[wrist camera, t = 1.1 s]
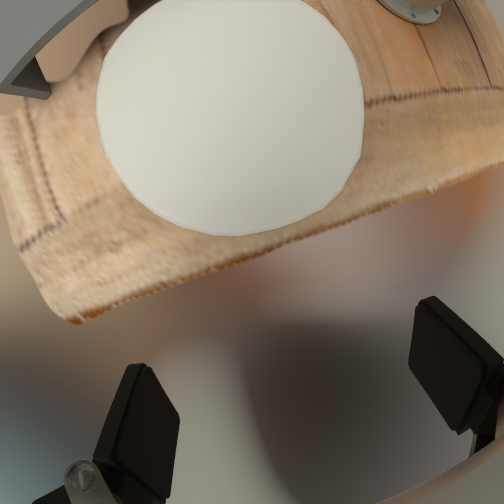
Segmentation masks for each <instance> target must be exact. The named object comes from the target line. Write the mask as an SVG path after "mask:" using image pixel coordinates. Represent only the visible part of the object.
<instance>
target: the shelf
mask: <svg viewBox="0 0 504 504" xmlns="http://www.w3.org/2000/svg"><path fill="white" fill-rule="evenodd" d="M97 1H98V0H0V93H3V94H11V95H18V96H25V97H32V98H38V99H43V100H46V99H47V98H48V97H49V96H50V95H51V94H52V92H51V90H50V88H49V86H48V84H47V82H46V80H45V78H44V75H43V74H42V71H41V69H40V67H39V64H38V62H37V60H36V57H35V55H36V54H37V53H38V52H39V51H40V50H41V49H42V48H43V47H44V46H45V45H46V44H47V43H48V42H49V41H50V40H51V39H52V38H53V37H55V35H57V34H58V33H59V32H60V31H61V30H62V29H63V28H64V27H65V26H67V25H68V24H69V23H70V22H71V21H73V20H74V19H75V18H76V17H77V16H79V15H80V14H81V13H82V12H84V11H85V10H86V9H88V8H89V7H90V6H92V5H93V4H94V3H96V2H97Z"/></svg>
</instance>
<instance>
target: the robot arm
mask: <svg viewBox="0 0 504 504" xmlns="http://www.w3.org/2000/svg"><path fill="white" fill-rule="evenodd" d="M378 1H379V2H380V3H381V4H383V5H384V6H385V7H386V8H387V9H389V10H390V11H391V12H393V13H394V14H396V15H397V16H399V17H401V18H403V19H405V20H407V21H409V22H412V23H415V24H421V25H425V24H430V23H433V22H434V21H436V20H437V19H438V18H439V17H440V14H441V5H443V4H445V3H447V2H449V1H451V0H378ZM503 362H504V358H503V357H501V355H499V354H498V353H497V352H496V351H495V350H494V349H493V348H492V347H491V346H490V345H489V344H488V343H487V342H486V341H485V340H484V339H483V338H482V337H481V336H480V335H479V334H478V333H477V332H475V331H474V330H473V329H472V328H471V327H470V326H469V325H468V324H467V323H466V322H464V321H463V320H462V319H461V318H460V317H459V316H458V315H457V314H455V313H454V312H453V311H452V310H451V309H450V308H448V307H447V306H446V305H445V304H444V303H443V302H442V301H440V300H439V299H438V298H437V297H435V296H431V297H428V298H425V299H423V300H420V301H419V304H418V306H416V308H415V316H414V325H413V333H412V340H411V347H410V353H409V359H408V364H409V368H410V370H411V371H412V373H413V374H414V375H415V377H416V378H417V380H418V381H419V383H420V384H421V386H422V387H423V388H424V390H425V391H426V393H427V394H428V396H429V397H430V398H431V400H432V402H433V403H434V405H435V406H436V408H437V409H438V411H439V412H440V414H441V415H442V417H443V418H444V420H445V421H446V423H447V424H448V426H449V427H450V429H451V430H455V431H456V432H457V434H458V435H460V434H462V433H463V432H465V431H467V430H468V429H470V428H471V430H472V431H473V438H472V443H471V448H470V453H469V457H468V458H467V459H466V460H464V461H462V462H461V463H459V464H458V465H456V466H454V467H453V468H451V469H449V470H447V471H446V472H444V473H442V474H441V475H438V476H436V477H435V478H433V479H431V480H429V481H427V482H425V483H423V484H421V485H419V486H417V487H415V488H413V489H410V490H408V491H406V492H404V493H401V494H399V495H397V496H394V497H392V498H389V499H387V500H384V501H382V502H379V503H376V504H504V363H503ZM179 424H180V418H179V414H178V413H177V411H176V410H175V408H174V406H173V405H172V403H171V401H170V400H169V398H168V396H167V395H166V393H165V391H164V390H163V388H162V386H161V384H160V383H159V381H158V379H157V377H156V376H155V374H154V372H153V370H152V368H150V367H147V366H146V364H144V363H139V364H129V365H128V366H127V368H126V370H125V373H124V375H123V377H122V380H121V382H120V385H119V387H118V390H117V392H116V395H115V397H114V400H113V402H112V405H111V407H110V410H109V413H108V415H107V418H106V421H105V424H104V426H103V429H102V432H101V435H100V437H99V440H98V443H97V446H96V449H95V452H94V454H93V460H92V462H91V461H89V460H78V461H75V462H73V463H72V464H70V465H69V467H68V468H67V469H66V471H65V473H64V478H63V481H64V485H63V486H61V487H59V488H58V489H56V490H54V491H52V492H50V493H48V494H46V495H45V496H43V497H41V498H39V499H37V500H35V501H34V502H33V503H32V504H165V503H166V498H169V497H170V493H171V484H172V477H173V468H174V460H175V453H176V446H177V439H178V431H179Z"/></svg>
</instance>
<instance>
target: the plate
mask: <svg viewBox="0 0 504 504" xmlns="http://www.w3.org/2000/svg"><path fill="white" fill-rule="evenodd" d="M364 114H365V113H364V98H363V89H362V84H361V80H360V76H359V72H358V68H357V64H356V60H355V58H354V56H353V54H352V52H351V50H350V48H349V47H348V45H347V43H346V41H345V39H344V38H343V37H342V36H341V35H340V33H339V32H338V31H337V30H336V29H335V28H334V26H333V25H332V24H331V23H330V22H329V21H328V20H327V19H326V17H324V16H323V15H322V14H320V13H319V12H318V11H316V10H315V9H314V8H312V7H311V6H310V5H308V4H307V3H305V2H303V1H301V0H161V1H160V2H158V3H156V4H154V5H153V6H151V7H150V8H149V9H147V10H146V11H145V12H144V13H142V14H141V15H140V16H138V17H137V18H136V19H135V20H134V21H133V22H132V23H131V24H130V25H129V26H128V27H127V28H126V29H125V30H124V31H123V32H122V33H121V35H120V36H119V37H118V38H117V40H116V41H115V43H114V44H113V45H112V47H111V48H110V50H109V51H108V53H107V54H106V56H105V58H104V61H103V65H102V69H101V73H100V77H99V81H98V85H97V90H96V117H97V122H98V126H99V131H100V135H101V140H102V144H103V148H104V152H105V154H106V156H107V158H108V160H109V162H110V164H111V166H112V168H113V170H114V172H115V173H116V175H117V176H118V177H119V178H120V180H121V181H122V182H123V183H124V185H125V186H126V187H127V188H128V189H129V191H130V192H131V193H132V194H133V196H134V197H135V198H136V199H137V200H138V201H140V202H141V203H142V204H143V205H145V206H146V207H147V208H148V209H149V210H151V211H152V212H153V213H154V214H156V215H158V216H160V217H162V218H164V219H166V220H168V221H169V222H171V223H173V224H175V225H177V226H179V227H182V228H186V229H190V230H194V231H198V232H202V233H206V234H210V235H214V236H244V235H249V234H254V233H259V232H264V231H269V230H274V229H277V228H280V227H283V226H286V225H289V224H292V223H295V222H297V221H300V220H302V219H303V218H305V217H307V216H309V215H311V214H313V213H315V212H317V211H319V210H321V209H323V208H324V207H325V206H326V205H327V204H328V203H329V202H330V201H331V200H333V199H334V198H335V197H336V196H337V195H338V194H339V193H340V192H341V191H342V189H343V187H344V185H345V184H346V182H347V180H348V178H349V176H350V175H351V173H352V171H353V169H354V167H355V165H356V164H357V162H358V160H359V158H360V156H361V148H362V138H363V127H364Z"/></svg>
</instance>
